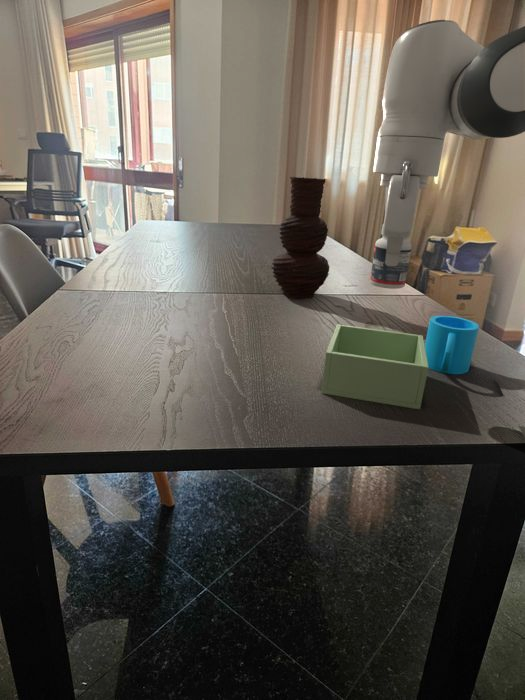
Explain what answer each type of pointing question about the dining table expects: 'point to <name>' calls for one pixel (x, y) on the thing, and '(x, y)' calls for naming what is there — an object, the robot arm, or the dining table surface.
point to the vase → (302, 241)
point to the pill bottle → (389, 274)
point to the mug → (450, 344)
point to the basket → (376, 366)
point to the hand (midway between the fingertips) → (391, 261)
